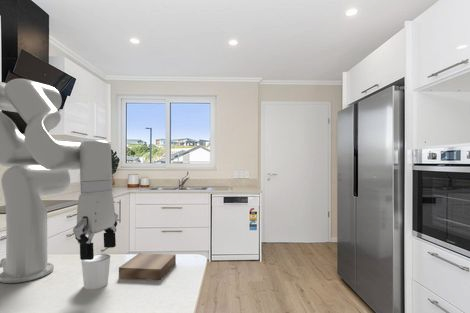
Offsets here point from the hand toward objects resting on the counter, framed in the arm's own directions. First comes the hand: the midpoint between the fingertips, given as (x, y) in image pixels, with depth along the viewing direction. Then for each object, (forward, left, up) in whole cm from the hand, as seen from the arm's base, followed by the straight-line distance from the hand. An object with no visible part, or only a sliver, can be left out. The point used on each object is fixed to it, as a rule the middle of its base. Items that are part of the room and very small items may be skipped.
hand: (99, 252), depth 73 cm
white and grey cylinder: (-1, 0, -9) cm, 9 cm away
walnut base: (+9, +10, -8) cm, 16 cm away
